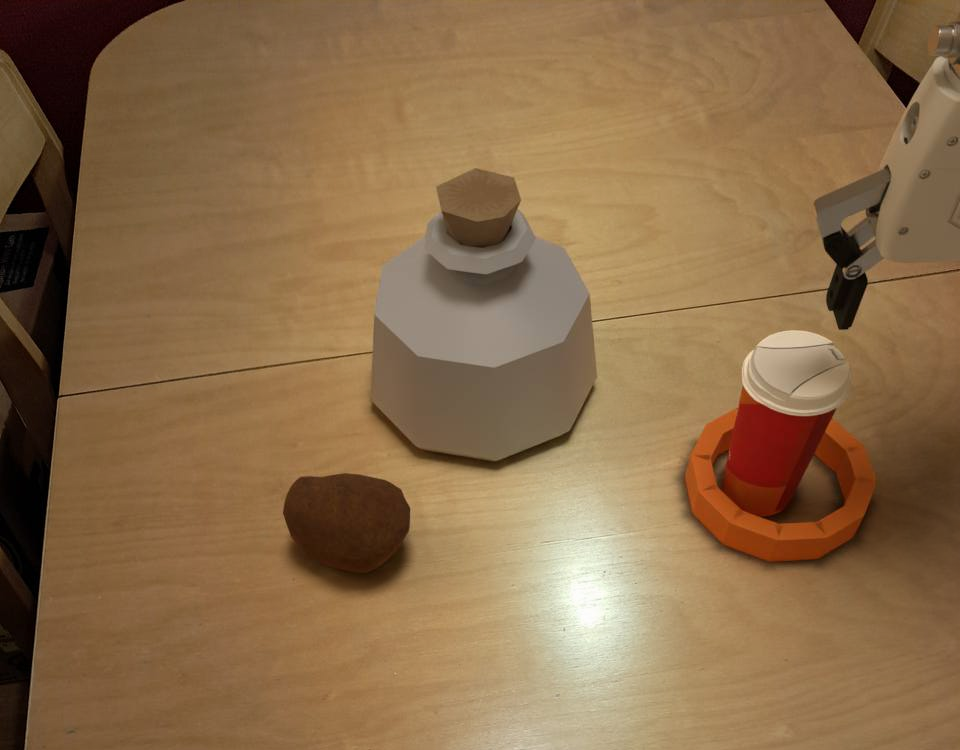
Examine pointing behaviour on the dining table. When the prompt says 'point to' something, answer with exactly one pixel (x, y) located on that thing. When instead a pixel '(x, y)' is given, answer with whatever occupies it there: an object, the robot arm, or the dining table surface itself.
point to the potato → (347, 519)
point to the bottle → (481, 329)
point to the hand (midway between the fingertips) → (911, 313)
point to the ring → (767, 535)
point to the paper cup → (782, 417)
